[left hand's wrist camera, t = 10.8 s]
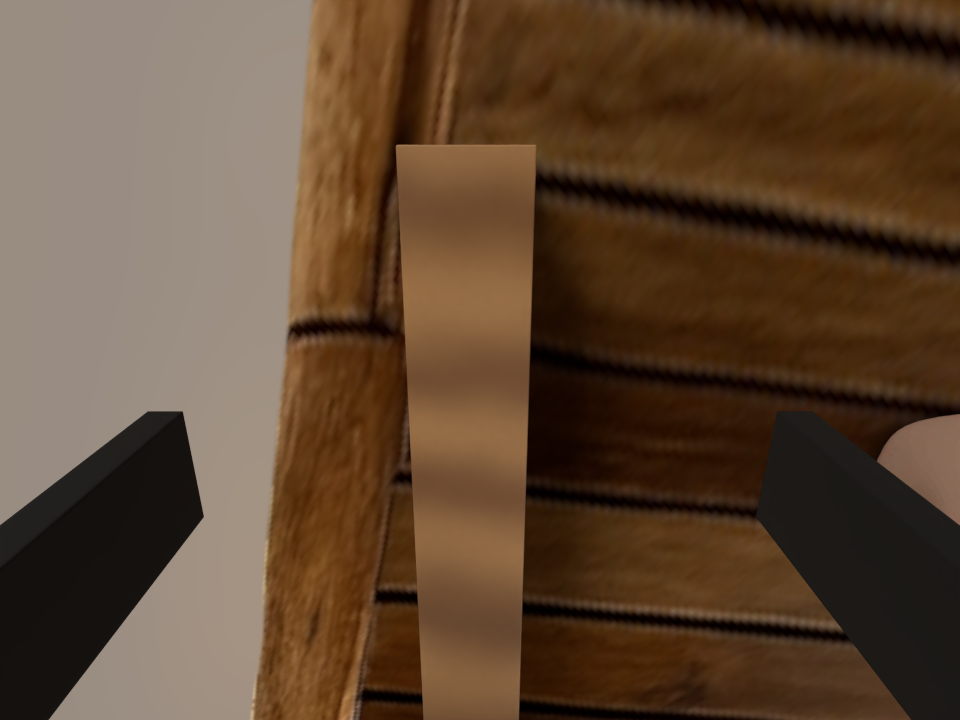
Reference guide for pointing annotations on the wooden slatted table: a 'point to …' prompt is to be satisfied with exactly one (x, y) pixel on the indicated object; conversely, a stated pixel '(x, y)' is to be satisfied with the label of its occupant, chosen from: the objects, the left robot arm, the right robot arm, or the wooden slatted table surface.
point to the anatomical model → (928, 461)
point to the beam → (468, 413)
